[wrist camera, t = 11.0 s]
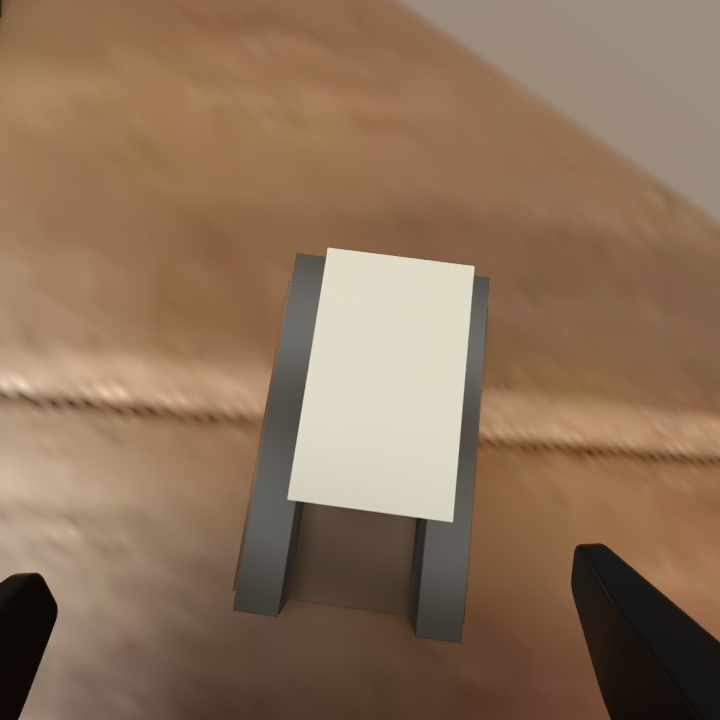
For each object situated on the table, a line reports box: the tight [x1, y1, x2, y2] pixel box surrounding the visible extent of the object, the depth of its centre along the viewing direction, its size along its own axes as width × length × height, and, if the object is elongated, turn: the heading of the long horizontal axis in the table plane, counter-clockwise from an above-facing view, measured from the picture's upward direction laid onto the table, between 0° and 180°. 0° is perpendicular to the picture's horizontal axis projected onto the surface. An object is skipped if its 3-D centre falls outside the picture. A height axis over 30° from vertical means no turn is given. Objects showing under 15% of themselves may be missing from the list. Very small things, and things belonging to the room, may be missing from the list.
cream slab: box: [287, 248, 474, 522], centre depth 16 cm, size 5×3×12 cm, turn 172°
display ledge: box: [233, 253, 490, 643], centre depth 21 cm, size 13×9×4 cm
